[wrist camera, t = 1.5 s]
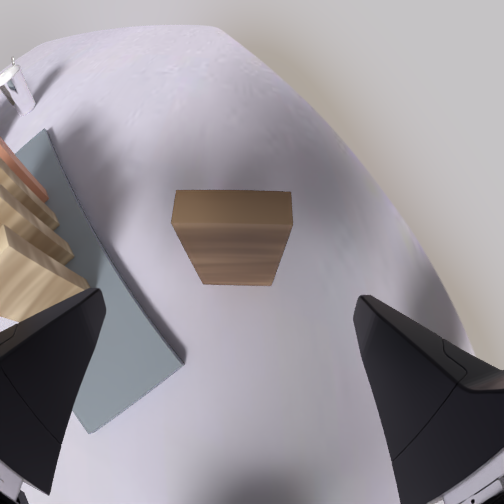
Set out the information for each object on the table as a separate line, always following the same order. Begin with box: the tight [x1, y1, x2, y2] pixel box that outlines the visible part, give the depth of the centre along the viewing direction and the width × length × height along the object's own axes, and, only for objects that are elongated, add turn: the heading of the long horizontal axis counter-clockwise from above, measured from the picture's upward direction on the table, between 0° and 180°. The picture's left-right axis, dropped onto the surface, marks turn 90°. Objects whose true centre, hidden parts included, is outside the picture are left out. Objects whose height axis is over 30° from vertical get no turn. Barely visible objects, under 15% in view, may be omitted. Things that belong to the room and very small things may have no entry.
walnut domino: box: [171, 190, 293, 286], centre depth 16 cm, size 2×5×10 cm, turn 89°
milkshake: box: [0, 57, 36, 116], centre depth 25 cm, size 4×5×10 cm
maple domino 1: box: [0, 157, 60, 231], centre depth 16 cm, size 2×5×10 cm, turn 131°
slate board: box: [15, 128, 185, 434], centre depth 21 cm, size 33×10×1 cm, turn 41°
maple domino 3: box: [0, 224, 91, 322], centre depth 14 cm, size 2×5×10 cm, turn 131°
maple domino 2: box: [0, 184, 75, 266], centre depth 15 cm, size 2×5×10 cm, turn 131°
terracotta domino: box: [0, 137, 49, 203], centre depth 17 cm, size 2×5×10 cm, turn 131°
